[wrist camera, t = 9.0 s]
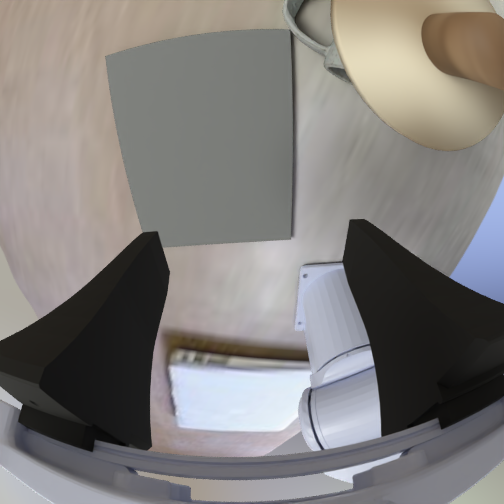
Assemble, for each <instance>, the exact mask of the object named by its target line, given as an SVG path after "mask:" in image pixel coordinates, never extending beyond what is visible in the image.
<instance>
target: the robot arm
mask: <svg viewBox="0 0 504 504" xmlns="http://www.w3.org/2000/svg"><path fill="white" fill-rule="evenodd" d="M342 262H343V263H330V264H316V265H304V266H302V267H301V268H300V276H299V288H298V298H297V309H296V318H295V330H296V331H304V333H305V338H306V343H307V349H308V354H309V360H310V366H311V371H312V375H310V381H311V387H309V388H307V389H305V390H304V392H303V394H302V397H301V399H300V402H299V409H298V414H299V422H300V427H301V431H302V434H303V437H304V439H305V441H306V443H307V445H308V446H309V447H310V449H311V450H312V451H313V452H305V453H298V454H288V455H278V456H261V457H203V456H188V455H177V454H168V453H160V452H153V451H147V450H148V449H150V448H151V447H152V441H151V427H150V385H151V370H152V359H153V351H154V345H155V340H156V336H157V332H158V328H159V324H160V320H161V316H162V312H163V308H164V304H165V300H166V296H167V291H168V284H169V275H170V271H169V268H168V264H167V261H166V258H165V254H164V251H163V248H162V244H161V241H160V237H159V234H158V231H152V232H143V233H142V234H140V235H139V236H138V237H137V238H136V239H135V240H133V241H132V242H131V243H130V244H129V245H128V246H127V247H126V248H125V249H124V250H123V251H122V252H121V253H120V254H119V255H118V256H117V257H116V258H115V259H114V260H113V261H111V262H110V263H109V264H108V265H107V266H106V267H105V268H104V269H103V270H102V271H101V272H100V273H99V274H97V275H96V276H95V277H94V278H93V279H92V280H91V281H90V282H89V283H88V284H87V285H85V286H84V287H83V288H82V289H81V290H79V291H78V292H77V293H76V294H74V295H73V296H72V297H71V298H69V299H68V300H67V301H65V302H64V303H63V304H61V305H60V306H58V307H57V308H56V309H54V310H53V311H51V312H50V313H49V314H47V315H46V316H44V317H43V318H41V319H39V320H38V321H36V322H35V323H33V324H31V325H30V326H28V327H26V328H24V329H23V330H21V331H19V332H17V333H15V334H13V335H11V336H9V337H7V338H5V339H3V340H1V341H0V386H1V387H2V388H3V389H4V390H5V391H7V392H8V393H9V394H10V395H12V396H13V397H14V398H16V399H17V400H18V401H19V402H21V403H22V404H23V405H22V409H21V410H20V409H18V408H16V407H14V406H12V405H10V404H8V403H6V402H4V401H2V400H0V466H1V467H2V468H4V469H5V470H6V471H8V472H9V473H10V474H12V475H13V476H14V477H15V478H17V479H18V480H19V481H21V482H22V483H23V484H25V485H26V486H28V487H29V488H30V489H31V490H33V491H34V492H36V493H37V494H39V495H40V496H41V497H43V498H44V499H46V500H48V501H49V502H51V503H52V504H449V503H450V502H452V501H453V500H455V499H456V498H458V497H459V496H461V495H462V494H463V493H465V492H466V491H468V490H469V489H470V488H472V487H473V486H474V485H475V484H477V483H478V482H479V481H480V480H482V479H483V478H484V477H485V476H487V475H488V474H489V473H490V472H491V471H492V470H493V469H495V468H496V467H497V466H498V465H499V464H500V463H501V462H502V461H503V460H504V375H503V374H504V304H503V303H500V302H498V301H495V300H493V299H490V298H488V297H486V296H484V295H481V294H479V293H477V292H475V291H473V290H471V289H469V288H467V287H465V286H463V285H461V284H459V283H457V282H455V281H454V280H452V279H451V278H449V277H447V276H445V275H444V274H442V273H441V272H439V271H437V270H436V269H434V268H433V267H431V266H430V265H428V264H427V263H425V262H424V261H422V260H421V259H419V258H418V257H417V256H415V255H414V254H412V253H411V252H410V251H408V250H407V249H405V248H404V247H403V246H401V245H400V244H399V243H397V242H396V241H395V240H393V239H392V238H391V237H389V236H388V235H387V234H385V233H384V232H383V231H381V230H380V229H379V228H377V227H376V226H374V225H373V224H371V223H370V222H368V221H367V220H365V219H352V220H350V221H349V228H348V233H347V239H346V245H345V250H344V256H343V261H342ZM304 274H307V275H304ZM135 470H138V471H144V472H149V473H155V474H161V475H168V476H176V477H185V478H196V479H213V480H215V479H216V480H260V479H274V478H275V479H276V478H287V477H296V476H305V475H312V474H318V473H324V474H326V475H328V476H330V477H333V478H336V479H339V480H342V481H345V482H349V483H352V484H353V489H349V490H345V491H340V492H335V493H330V494H325V495H319V496H312V497H305V498H297V499H289V500H277V501H260V502H217V501H201V500H192V499H191V497H190V496H191V488H190V487H189V486H185V485H179V484H174V483H170V482H169V481H165V480H159V479H154V478H149V477H144V476H140V475H138V473H137V472H136V471H135Z"/></svg>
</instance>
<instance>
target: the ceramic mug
mask: <svg viewBox="0 0 504 504" xmlns="http://www.w3.org/2000/svg"><path fill="white" fill-rule="evenodd" d="M303 1H304V0H284V5H283V10H282V12H283V15H284V20H285V22H286V23H287V25H288V27H289V28H290V30H291V31H292V32H293V34H294V35H295V36H296V37H297V38H298V39H299V40H300V41H301V42H302V43H304V44H305V45H307V46H308V47H309V48H311V49H313V50H314V51H316V52H318V53H319V54H321V55H324V56H325V57H326V58H325V62H324V67H325V69H326V70H328V71H329V72H330V73H332V74H333V75H335V76H336V77H338V78H340V79H341V80H343V81H346V82H348V83H350V84H352V82H351V81H350V79H349V77H348V76H347V74H346V71H345V69H344V67H343V65H342V63H341V60H340V58H339V55H338V52H337V49H336V46H335V42H334V39H333V42H332V44H331V46H327V47H326V46H323V45H320V44H318V43H316V42H315V41H314V40H312V39H311V38H309V37H308V36H307V35H305V34H304V33H303V32H302V31H301V30H300V29H299V28H298V27H297V25H296V24H295V15H296V14H297V12H298V10H299V8H300V6H301V4H302V2H303ZM352 85H353V84H352Z"/></svg>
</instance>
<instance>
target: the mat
mask: <svg viewBox="0 0 504 504" xmlns="http://www.w3.org/2000/svg"><path fill="white" fill-rule="evenodd" d="M105 57H106V66H107V74H108V81H109V88H110V95H111V101H112V107H113V113H114V118H115V124H116V129H117V134H118V139H119V144H120V148H121V153H122V157H123V162H124V166H125V170H126V174H127V178H128V182H129V186H130V190H131V194H132V197H133V201H134V205H135V208H136V212H137V215H138V218H139V222H140V225H141V228H142V232H152V231H158V234H159V237H160V241H161V244H162V247H177V246H192V245H207V244H223V243H239V242H256V241H273V240H291V216H292V168H293V108H292V63H291V38H290V30H288V29H256V30H236V31H223V32H213V33H205V34H198V35H191V36H185V37H179V38H174V39H168V40H164V41H159V42H154V43H150V44H146V45H142V46H138V47H134V48H131V49H127V50H124V51H121V52H117V53H114V54H111V55H108V56H105Z"/></svg>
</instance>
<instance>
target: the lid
mask: <svg viewBox="0 0 504 504" xmlns="http://www.w3.org/2000/svg"><path fill="white" fill-rule="evenodd" d="M330 15H331V26H332V33H333V37H334V42H335V46H336V49H337V52H338V55H339V58H340V60H341V63H342V65H343V67H344V69H345V71H346V74H347V76H348V77H349V79H350V81H351V82H352V84H353V86H354V88H355V89H356V91H357V92H358V93H359V95H360V96H361V98H362V99H363V101H364V102H365V103H366V104H367V105H368V106H369V108H370V109H371V110H372V111H373V112H374V113H375V114H376V115H377V116H378V117H379V118H380V119H381V120H382V121H383V122H384V123H386V124H387V125H388V126H390V127H391V128H392V129H394V130H395V131H397V132H398V133H400V134H402V135H404V136H405V137H407V138H409V139H410V140H412V141H414V142H415V143H418V144H420V145H422V146H425V147H428V148H431V149H435V150H442V151H456V150H461V149H465V148H468V147H470V146H473V145H475V144H477V143H478V142H480V141H482V140H483V139H484V138H485V137H486V136H488V135H489V134H490V133H491V132H492V130H493V129H494V128H495V127H496V125H497V124H498V122H499V121H500V119H501V117H502V115H503V113H504V19H503V18H502V17H501V16H499V15H498V14H497V13H496V11H495V10H494V8H493V6H492V5H491V3H490V1H489V0H331V13H330Z"/></svg>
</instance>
